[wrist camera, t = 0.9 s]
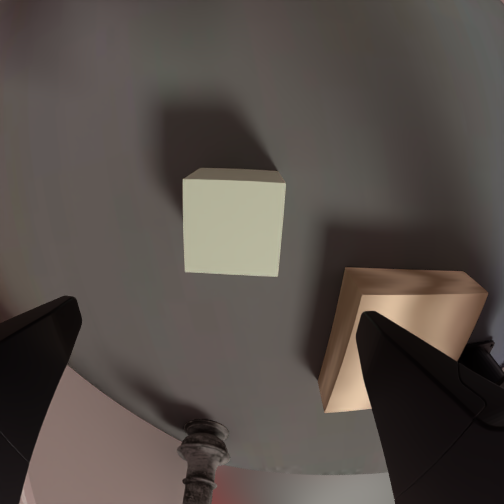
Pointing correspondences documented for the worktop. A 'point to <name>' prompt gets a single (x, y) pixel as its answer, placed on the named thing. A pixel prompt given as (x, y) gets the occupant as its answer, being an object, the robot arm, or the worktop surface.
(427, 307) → the oak riser block
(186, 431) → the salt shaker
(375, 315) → the robot arm
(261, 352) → the worktop surface
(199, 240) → the sage cube
